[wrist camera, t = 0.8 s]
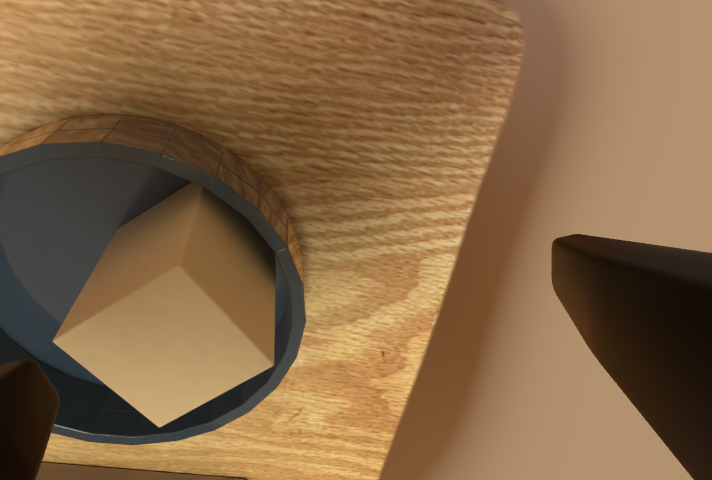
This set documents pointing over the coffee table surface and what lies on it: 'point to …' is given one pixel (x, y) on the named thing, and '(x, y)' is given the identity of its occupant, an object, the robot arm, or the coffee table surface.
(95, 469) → the grey angular block
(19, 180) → the bowl
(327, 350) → the coffee table surface
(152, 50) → the coffee table surface
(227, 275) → the block
